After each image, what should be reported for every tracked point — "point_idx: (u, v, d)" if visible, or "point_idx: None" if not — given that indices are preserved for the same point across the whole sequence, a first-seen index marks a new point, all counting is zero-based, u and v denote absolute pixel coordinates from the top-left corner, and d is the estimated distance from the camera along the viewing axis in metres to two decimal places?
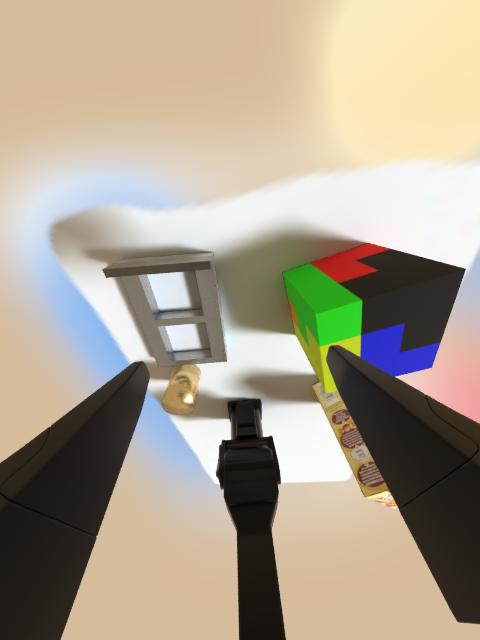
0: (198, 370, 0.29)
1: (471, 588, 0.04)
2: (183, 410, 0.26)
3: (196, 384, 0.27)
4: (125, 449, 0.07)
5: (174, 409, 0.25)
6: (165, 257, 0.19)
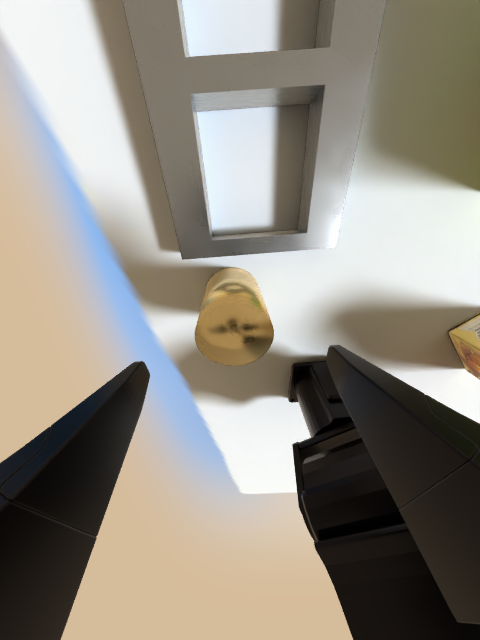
0: None
1: (471, 588, 0.04)
2: (243, 353, 0.11)
3: None
4: (125, 449, 0.07)
5: (223, 348, 0.11)
6: None
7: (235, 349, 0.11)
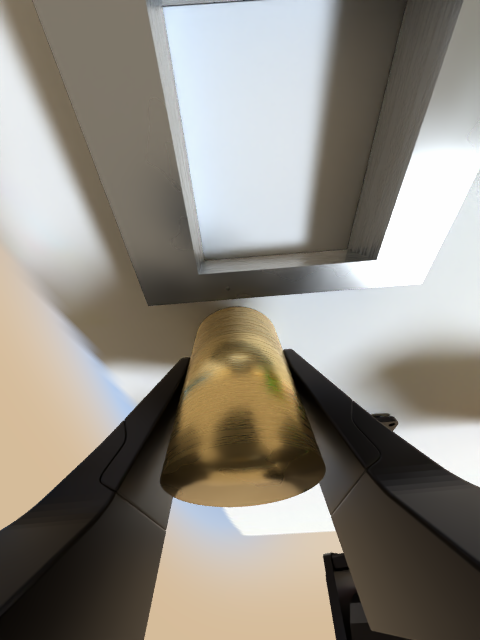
0: (276, 334, 0.09)
1: (375, 596, 0.04)
2: (259, 495, 0.06)
3: None
4: None
5: (220, 493, 0.05)
6: None
7: (244, 493, 0.05)
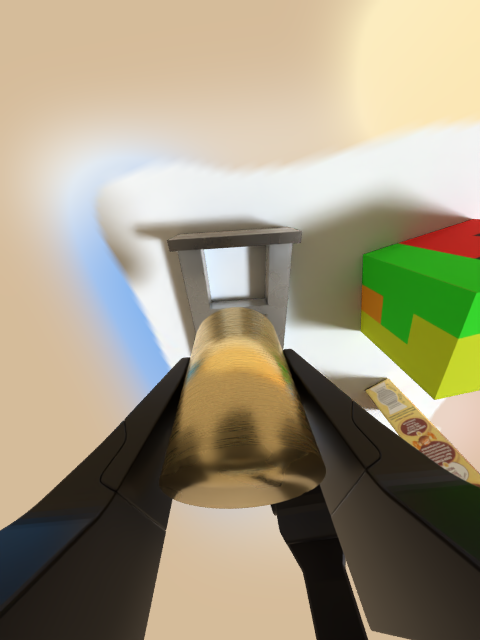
0: (276, 335, 0.09)
1: (375, 596, 0.04)
2: (258, 497, 0.06)
3: None
4: None
5: (220, 495, 0.05)
6: (234, 231, 0.16)
7: (244, 494, 0.05)
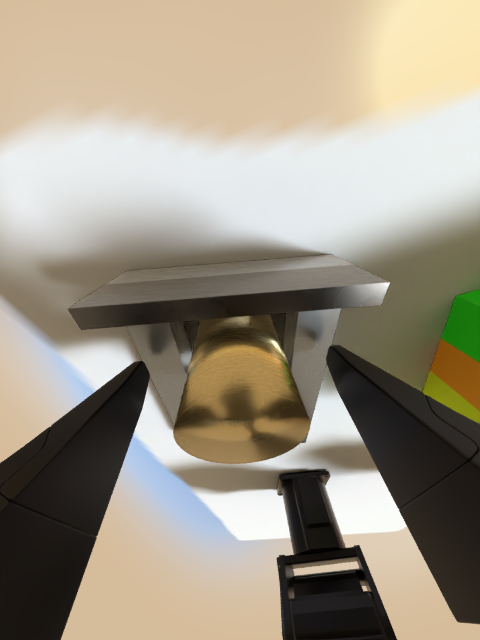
0: None
1: (470, 587, 0.04)
2: (255, 450, 0.07)
3: None
4: (125, 449, 0.07)
5: (223, 447, 0.06)
6: (229, 268, 0.08)
7: (243, 447, 0.06)
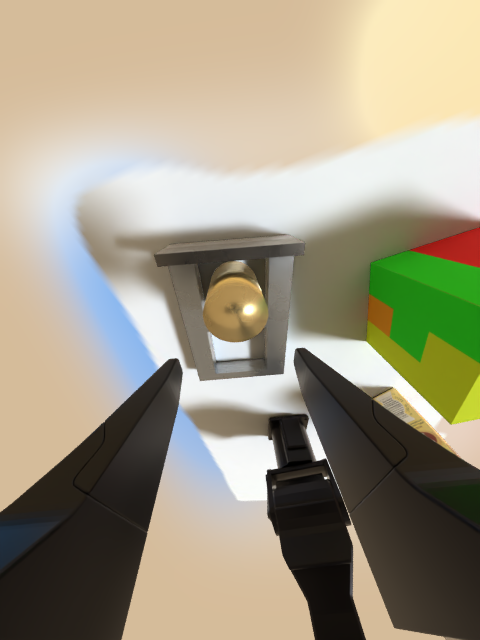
0: None
1: (401, 594, 0.04)
2: (242, 330, 0.13)
3: None
4: (167, 445, 0.07)
5: (226, 326, 0.13)
6: (229, 241, 0.14)
7: (236, 327, 0.13)
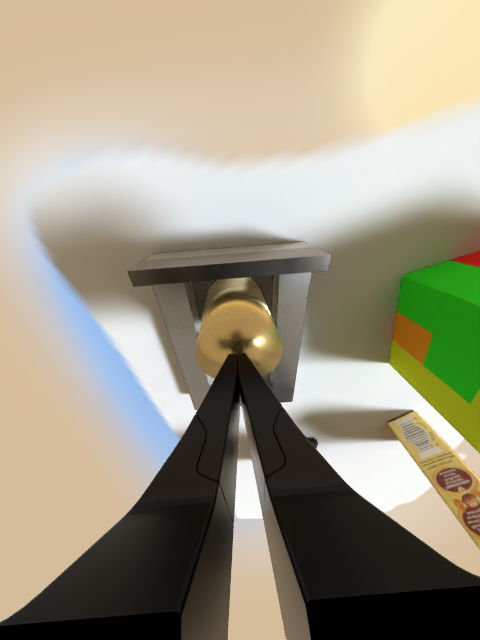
0: None
1: (282, 605, 0.04)
2: None
3: None
4: None
5: None
6: (229, 250, 0.11)
7: None
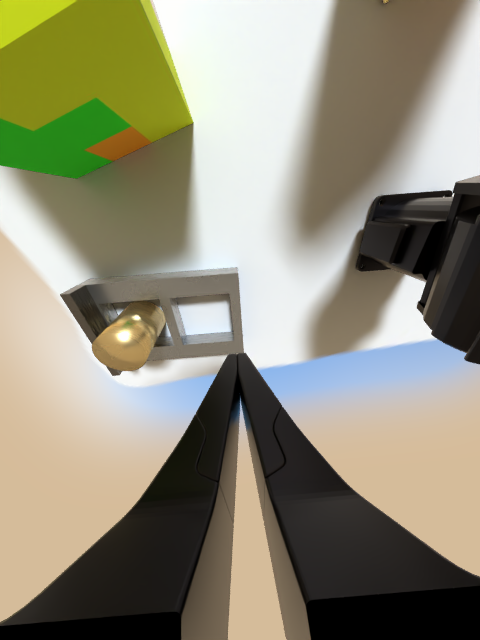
0: (130, 304, 0.20)
1: (282, 606, 0.04)
2: (131, 349, 0.16)
3: (119, 316, 0.17)
4: None
5: (131, 358, 0.16)
6: None
7: (129, 353, 0.16)
